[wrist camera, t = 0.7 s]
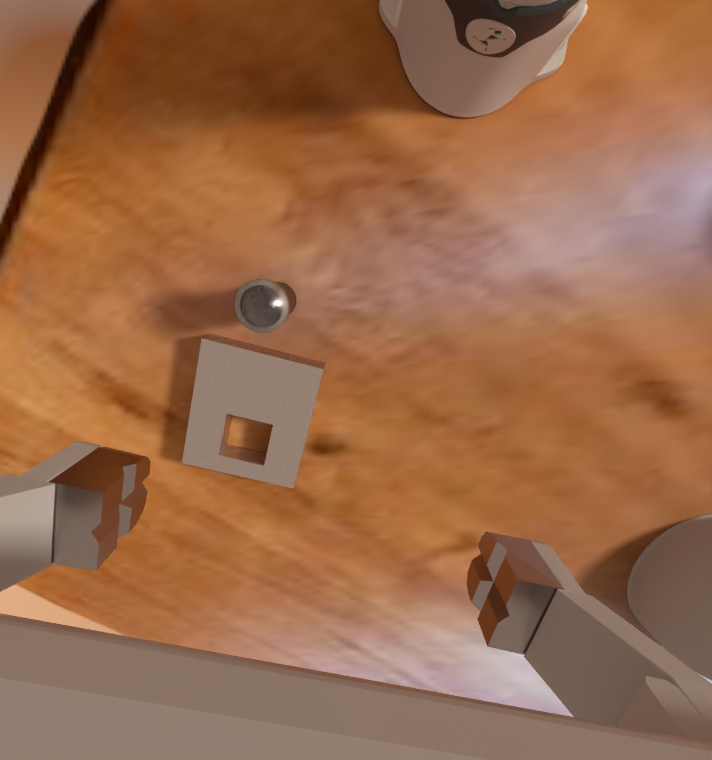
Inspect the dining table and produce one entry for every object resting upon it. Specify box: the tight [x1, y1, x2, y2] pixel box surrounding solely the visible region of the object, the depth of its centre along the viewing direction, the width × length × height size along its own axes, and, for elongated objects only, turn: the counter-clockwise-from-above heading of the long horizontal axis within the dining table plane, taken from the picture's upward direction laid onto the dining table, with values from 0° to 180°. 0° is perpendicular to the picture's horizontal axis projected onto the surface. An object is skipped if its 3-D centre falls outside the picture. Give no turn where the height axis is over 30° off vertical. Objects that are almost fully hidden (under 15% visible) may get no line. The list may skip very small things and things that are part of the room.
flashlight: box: [235, 279, 296, 333], centre depth 40 cm, size 5×5×9 cm
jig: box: [182, 334, 325, 488], centre depth 46 cm, size 16×14×3 cm
